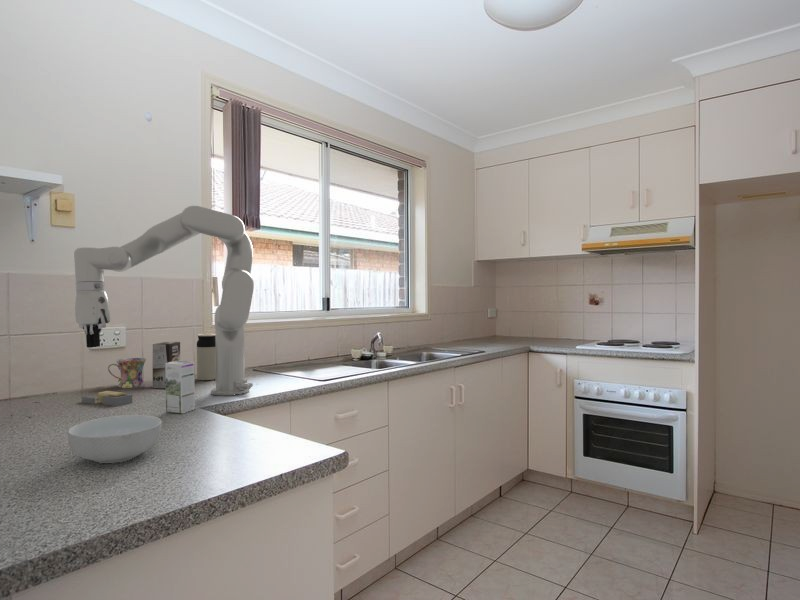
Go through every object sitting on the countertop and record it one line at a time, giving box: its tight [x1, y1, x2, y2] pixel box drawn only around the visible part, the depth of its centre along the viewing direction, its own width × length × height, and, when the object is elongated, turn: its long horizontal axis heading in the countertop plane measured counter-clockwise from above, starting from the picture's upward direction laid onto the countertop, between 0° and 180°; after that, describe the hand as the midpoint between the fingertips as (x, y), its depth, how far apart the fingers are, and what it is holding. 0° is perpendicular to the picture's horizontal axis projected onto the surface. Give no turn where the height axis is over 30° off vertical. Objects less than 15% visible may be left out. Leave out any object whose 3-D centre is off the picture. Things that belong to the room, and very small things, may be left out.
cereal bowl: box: [67, 414, 163, 464], centre depth 102 cm, size 17×17×7 cm
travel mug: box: [196, 333, 216, 381], centre depth 196 cm, size 8×8×18 cm
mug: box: [107, 357, 147, 389], centre depth 175 cm, size 12×9×11 cm
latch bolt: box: [97, 390, 127, 404], centre depth 148 cm, size 8×3×3 cm, turn 67°
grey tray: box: [81, 393, 133, 407], centre depth 149 cm, size 15×24×4 cm, turn 157°
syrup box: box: [165, 360, 196, 414], centre depth 142 cm, size 6×6×14 cm
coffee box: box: [151, 341, 181, 389], centre depth 181 cm, size 9×6×16 cm
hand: (93, 346), depth 152 cm, fingers closed
